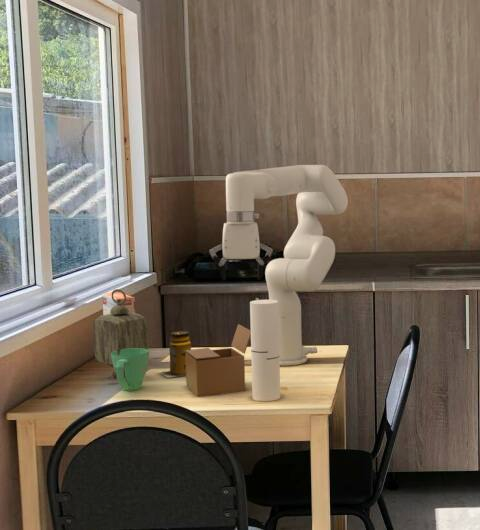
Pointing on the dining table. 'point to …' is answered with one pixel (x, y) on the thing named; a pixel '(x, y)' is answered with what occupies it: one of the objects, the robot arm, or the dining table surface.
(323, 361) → the dining table surface
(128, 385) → the mug
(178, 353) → the condiment
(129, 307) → the cracker box
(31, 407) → the dining table surface
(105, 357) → the tabletop clock
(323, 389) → the dining table surface
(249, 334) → the flap
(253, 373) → the cylindrical container
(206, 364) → the carton
